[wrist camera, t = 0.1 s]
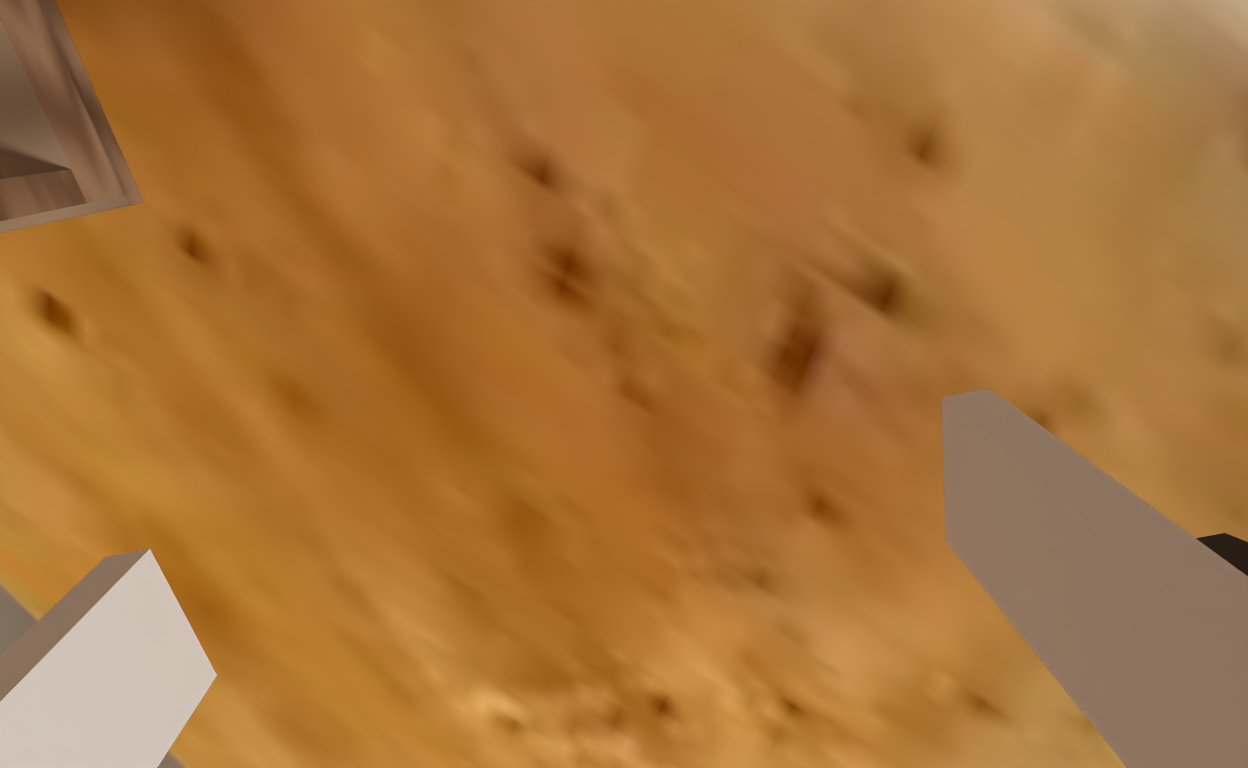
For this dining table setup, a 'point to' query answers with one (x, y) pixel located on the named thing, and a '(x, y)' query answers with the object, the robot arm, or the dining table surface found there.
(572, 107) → the dining table surface
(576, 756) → the dining table surface
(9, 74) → the u-shaped post stand
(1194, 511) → the dining table surface
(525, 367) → the dining table surface
